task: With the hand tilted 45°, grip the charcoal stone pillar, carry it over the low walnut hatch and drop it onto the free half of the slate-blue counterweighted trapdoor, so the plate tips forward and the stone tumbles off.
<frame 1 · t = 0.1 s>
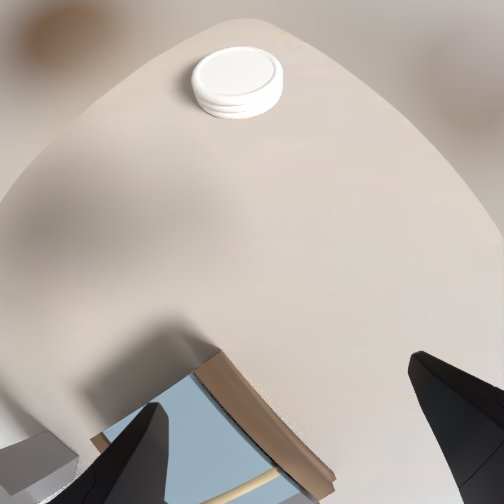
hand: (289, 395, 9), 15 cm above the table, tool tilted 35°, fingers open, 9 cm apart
coaster: (239, 91, 29), on the table
trapdoor: (211, 474, 18), point 4 cm above the table, hinge at 0.0°
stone: (60, 455, 21), on the table
hatch frame: (232, 469, 21), on the table
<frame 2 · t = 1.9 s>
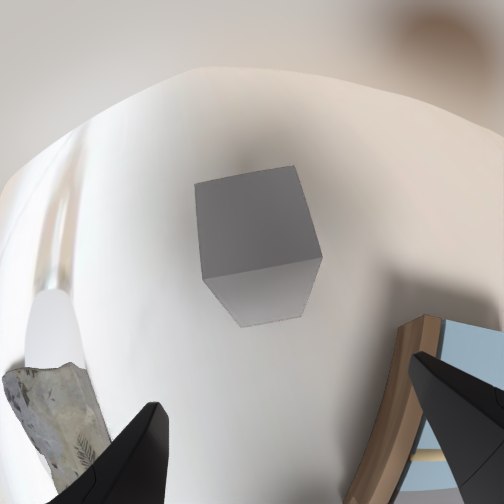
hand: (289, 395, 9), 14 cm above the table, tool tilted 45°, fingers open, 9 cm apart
trapdoor: (463, 428, 14), point 4 cm above the table, hinge at 0.0°
fossil rock: (63, 438, 20), on the table
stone: (265, 293, 24), on the table
hatch frame: (435, 444, 16), on the table
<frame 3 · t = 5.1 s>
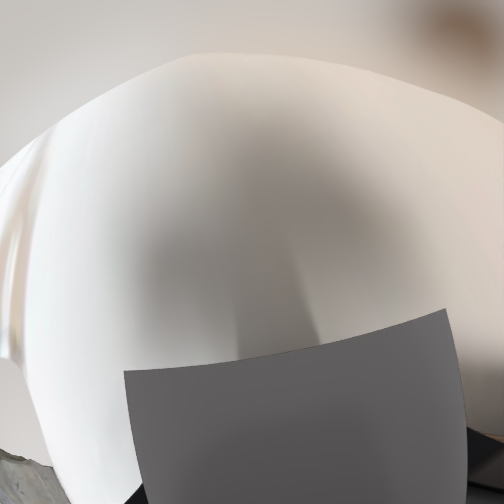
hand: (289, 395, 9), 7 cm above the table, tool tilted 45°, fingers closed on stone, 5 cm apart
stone: (289, 409, 14), on the table, touching gripper
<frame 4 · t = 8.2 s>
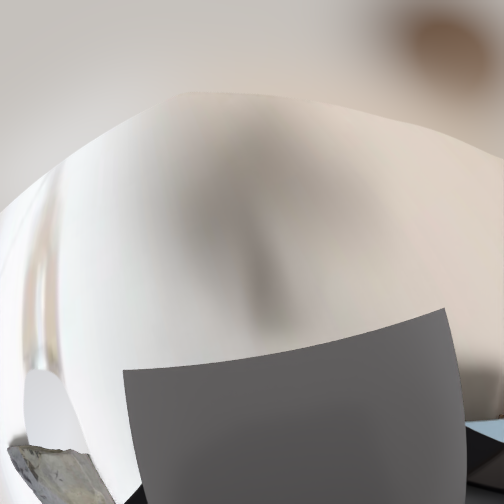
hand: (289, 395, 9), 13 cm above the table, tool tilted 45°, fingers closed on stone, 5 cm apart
trapdoor: (457, 502, 11), point 4 cm above the table, hinge at 0.0°
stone: (289, 408, 14), point 7 cm above the table, touching gripper
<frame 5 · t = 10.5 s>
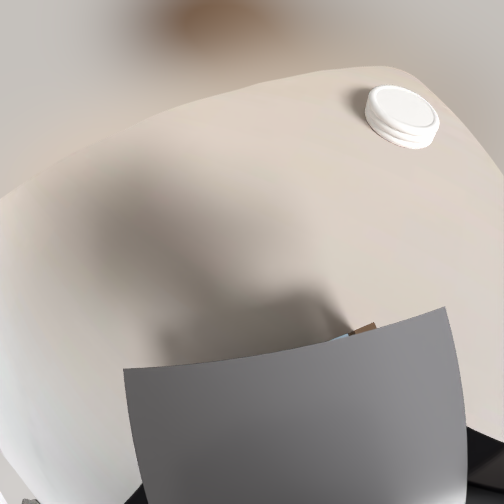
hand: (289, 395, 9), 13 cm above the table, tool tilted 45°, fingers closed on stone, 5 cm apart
coaster: (398, 125, 32), on the table
trapdoor: (308, 463, 15), point 4 cm above the table, hinge at 0.0°
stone: (289, 408, 14), point 7 cm above the table, touching gripper
when the fingers open (13 cm above the table, at t = 11.5 s): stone drops 4 cm, resting on trapdoor.
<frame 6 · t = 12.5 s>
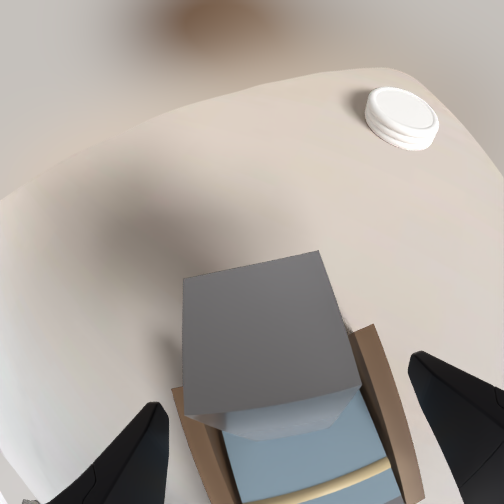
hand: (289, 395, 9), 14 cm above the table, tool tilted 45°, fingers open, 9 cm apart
coaster: (398, 127, 32), on the table
trapdoor: (309, 465, 15), point 3 cm above the table, hinge at -18.1°, touching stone
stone: (287, 403, 18), point 3 cm above the table, tilted 18°, touching trapdoor
hatch frame: (311, 470, 17), on the table
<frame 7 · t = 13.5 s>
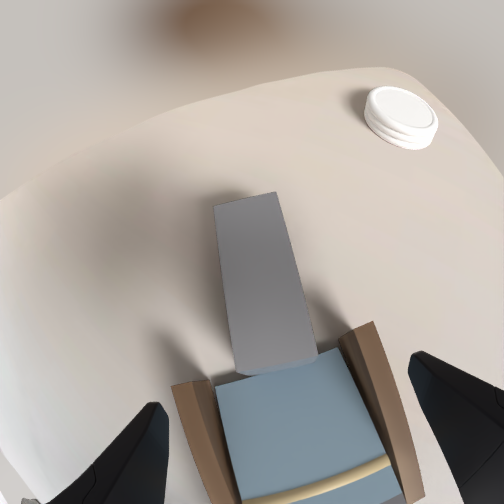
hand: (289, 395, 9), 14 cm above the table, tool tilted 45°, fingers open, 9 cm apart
coaster: (397, 126, 32), on the table
trapdoor: (309, 464, 15), point 3 cm above the table, hinge at -23.8°, touching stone
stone: (279, 367, 18), point 3 cm above the table, tilted 94°, touching trapdoor
hatch frame: (310, 468, 17), on the table
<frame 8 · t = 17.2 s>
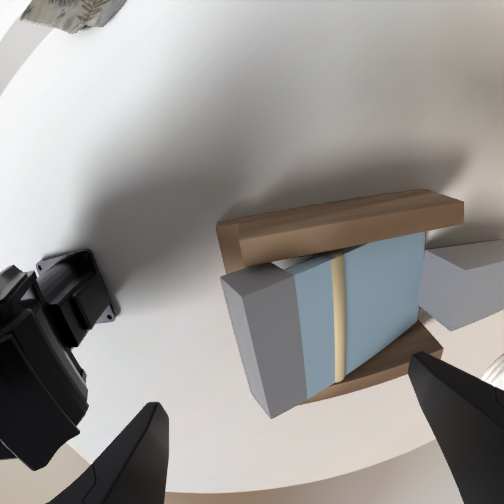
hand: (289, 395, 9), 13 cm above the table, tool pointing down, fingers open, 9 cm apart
coaster: (492, 374, 31), on the table
trapdoor: (347, 307, 19), point 3 cm above the table, hinge at -23.8°, touching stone
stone: (438, 289, 19), point 3 cm above the table, tilted 94°, touching trapdoor
hatch frame: (318, 293, 22), on the table
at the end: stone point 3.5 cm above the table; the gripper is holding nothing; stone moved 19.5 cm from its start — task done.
